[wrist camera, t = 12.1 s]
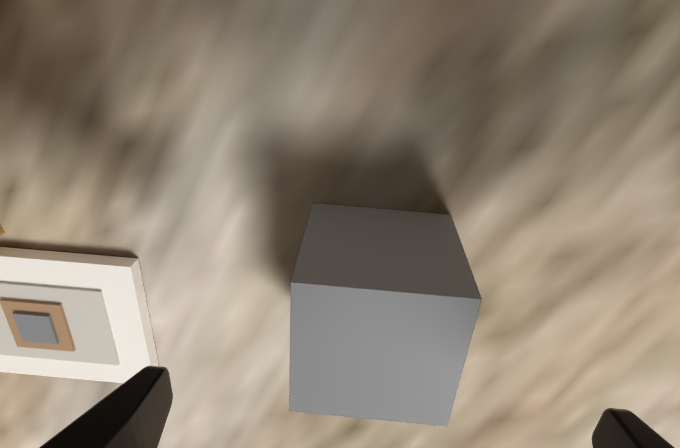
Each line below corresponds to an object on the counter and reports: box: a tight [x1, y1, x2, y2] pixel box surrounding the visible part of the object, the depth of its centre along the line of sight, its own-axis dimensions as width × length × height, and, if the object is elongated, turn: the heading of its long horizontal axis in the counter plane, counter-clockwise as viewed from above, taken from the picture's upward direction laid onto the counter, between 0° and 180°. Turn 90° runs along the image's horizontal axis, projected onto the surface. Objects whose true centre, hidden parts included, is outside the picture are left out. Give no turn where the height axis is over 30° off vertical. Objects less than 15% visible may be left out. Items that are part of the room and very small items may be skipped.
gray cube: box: [289, 203, 482, 426], centre depth 12 cm, size 4×4×4 cm
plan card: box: [0, 247, 159, 383], centre depth 15 cm, size 7×5×1 cm
